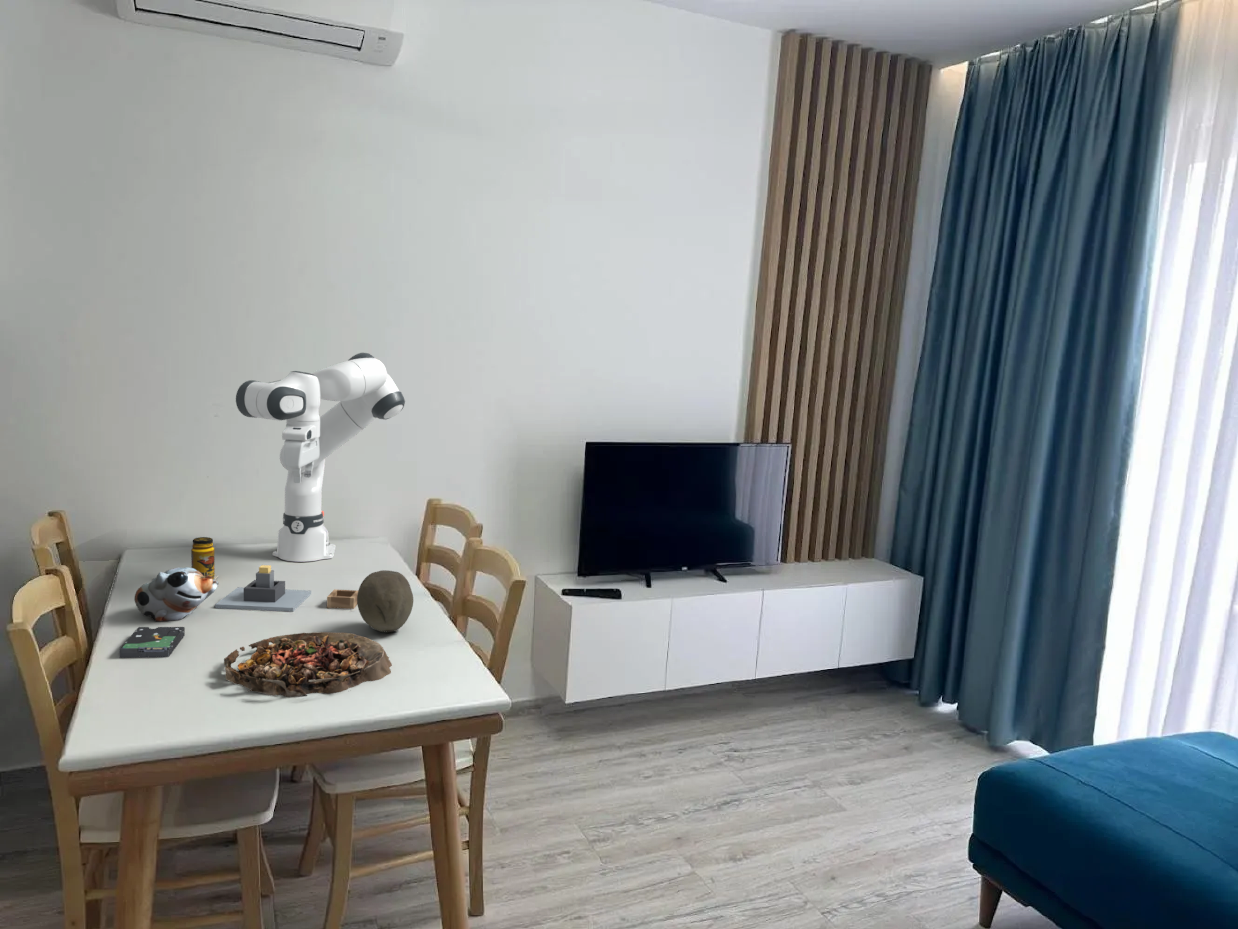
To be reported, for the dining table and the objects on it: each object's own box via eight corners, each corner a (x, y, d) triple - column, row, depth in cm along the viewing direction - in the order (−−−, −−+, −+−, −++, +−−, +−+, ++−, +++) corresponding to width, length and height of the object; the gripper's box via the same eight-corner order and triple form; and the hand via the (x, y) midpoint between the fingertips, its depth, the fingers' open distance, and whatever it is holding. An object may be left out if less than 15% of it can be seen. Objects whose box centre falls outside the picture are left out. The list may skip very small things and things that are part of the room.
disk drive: (137, 638, 219) (118, 660, 204) (137, 626, 218) (118, 647, 204) (185, 637, 221) (169, 659, 207) (185, 626, 221) (169, 646, 206)
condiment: (211, 583, 263) (211, 542, 261) (180, 582, 262) (179, 541, 260) (219, 576, 270) (219, 536, 268) (188, 575, 269) (188, 535, 267)
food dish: (215, 710, 184) (213, 673, 183) (233, 654, 216) (232, 622, 215) (397, 694, 194) (397, 658, 193) (390, 643, 226) (389, 612, 224)
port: (238, 590, 257) (238, 574, 257) (311, 594, 258) (311, 578, 258) (215, 608, 242) (215, 591, 241) (293, 611, 242) (293, 594, 242)
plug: (260, 595, 251) (260, 564, 250) (273, 595, 252) (274, 565, 250) (255, 598, 248) (255, 567, 247) (269, 599, 248) (269, 568, 247)
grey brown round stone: (425, 629, 235) (427, 571, 232) (382, 643, 223) (384, 583, 221) (386, 617, 242) (387, 561, 240) (343, 630, 231) (343, 571, 228)
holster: (334, 600, 254) (334, 589, 254) (360, 601, 254) (360, 590, 254) (327, 607, 247) (327, 596, 247) (353, 609, 247) (353, 598, 247)
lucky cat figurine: (195, 600, 246) (219, 554, 242) (204, 634, 237) (229, 586, 233) (128, 591, 235) (151, 542, 231) (134, 626, 226) (159, 576, 222)
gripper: (303, 425, 267) (302, 473, 269) (279, 433, 246) (279, 485, 248) (325, 426, 267) (324, 474, 269) (303, 435, 247) (303, 486, 249)
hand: (302, 479), depth 258 cm, fingers open, 8 cm apart
